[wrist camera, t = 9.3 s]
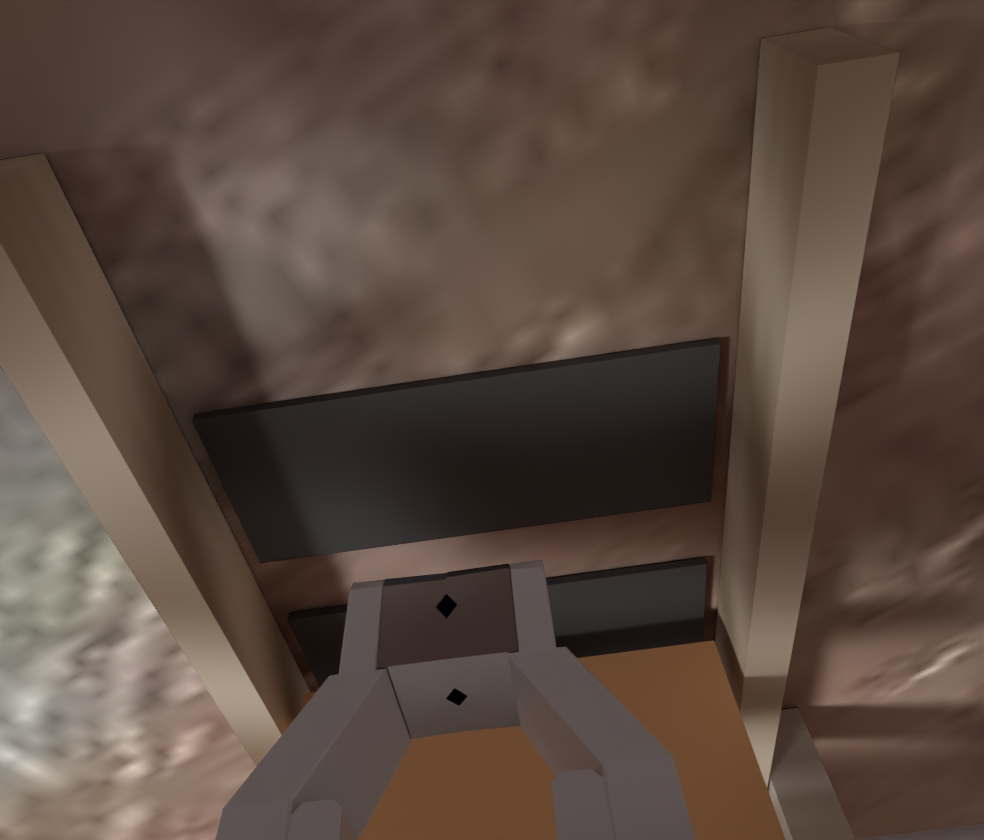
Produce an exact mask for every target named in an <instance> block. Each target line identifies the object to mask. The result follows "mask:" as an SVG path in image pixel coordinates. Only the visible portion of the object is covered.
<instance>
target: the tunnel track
mask: <svg viewBox="0 0 984 840" xmlns="http://www.w3.org/2000/svg"><path fill="white" fill-rule="evenodd" d="M899 56H900V52H897V51H895V50H892V49H889V48H886V47H884V46H881V45H878V44H875V43H872V42H870V41H867V40H864V39H861V38H858V37H856V36H853V35H850V34H847V33H845V32H842V31H839V30H836V29H833V28H831V27H829V28H823V29H817V30H810V31H804V32H798V33H792V34H786V35H779V36H773V37H767V38H761V45H760V58H759V72H758V85H757V98H756V111H755V124H754V137H753V150H752V163H751V177H750V190H749V203H748V216H747V229H746V242H745V255H744V268H743V282H742V295H741V308H740V321H739V334H738V347H737V360H736V373H735V387H734V400H733V413H732V426H731V439H730V452H729V465H728V478H727V492H726V505H725V518H724V531H723V544H722V557H721V570H720V583H719V597H718V610H717V623H716V636H715V645H716V648H717V650H718V653H719V656H720V659H721V662H722V664H723V667H724V670H725V673H726V675H727V678H728V681H729V684H730V687H731V689H732V692H733V695H734V698H735V700H736V703H737V706H738V709H739V712H740V714H741V717H742V720H743V723H744V726H745V728H746V731H747V734H748V737H749V739H750V742H751V745H752V748H753V751H754V753H755V756H756V759H757V762H758V764H759V767H760V770H761V773H762V776H763V778H764V781H765V784H766V787H767V789H768V792H769V795H770V798H771V801H772V803H773V806H774V809H775V812H776V814H777V817H778V820H779V823H780V826H781V828H782V831H783V834H784V837H785V839H786V840H845V839H854V838H855V837H854V835H853V832H852V830H851V828H850V825H849V823H848V821H847V818H846V816H845V814H844V812H843V809H842V807H841V805H840V802H839V800H838V798H837V795H836V793H835V791H834V789H833V786H832V784H831V782H830V779H829V777H828V775H827V772H826V770H825V768H824V765H823V763H822V761H821V759H820V756H819V754H818V752H817V749H816V747H815V745H814V742H813V740H812V738H811V735H810V733H809V731H808V729H807V726H806V724H805V722H804V719H803V717H802V715H801V712H800V710H799V708H792V709H784V710H781V709H782V703H783V698H784V692H785V687H786V681H787V676H788V670H789V665H790V659H791V654H792V648H793V642H794V637H795V631H796V626H797V620H798V615H799V609H800V604H801V598H802V593H803V587H804V582H805V576H806V571H807V565H808V560H809V554H810V548H811V543H812V537H813V532H814V526H815V521H816V515H817V510H818V504H819V499H820V493H821V488H822V482H823V477H824V471H825V466H826V460H827V454H828V449H829V443H830V438H831V432H832V427H833V421H834V416H835V410H836V405H837V399H838V394H839V388H840V383H841V377H842V372H843V366H844V360H845V355H846V349H847V344H848V338H849V333H850V327H851V322H852V316H853V311H854V305H855V300H856V294H857V289H858V283H859V277H860V272H861V266H862V261H863V255H864V250H865V244H866V239H867V233H868V228H869V222H870V217H871V211H872V206H873V200H874V195H875V189H876V183H877V178H878V172H879V167H880V161H881V156H882V150H883V145H884V139H885V134H886V128H887V123H888V117H889V112H890V106H891V101H892V95H893V89H894V84H895V78H896V73H897V67H898V62H899ZM719 356H720V342H719V341H718V339H717V338H715V339H709V340H702V341H695V342H688V343H681V344H674V345H667V346H660V347H653V348H647V349H640V350H633V351H626V352H619V353H612V354H605V355H598V356H591V357H585V358H578V359H571V360H564V361H557V362H550V363H543V364H536V365H529V366H523V367H516V368H509V369H502V370H495V371H488V372H481V373H474V374H468V375H461V376H454V377H447V378H440V379H433V380H426V381H419V382H412V383H406V384H399V385H392V386H385V387H378V388H371V389H364V390H357V391H350V392H344V393H337V394H330V395H323V396H316V397H309V398H302V399H295V400H288V401H282V402H275V403H268V404H261V405H254V406H247V407H240V408H233V409H226V410H220V411H213V412H206V413H199V414H195V415H194V417H193V419H192V421H193V423H194V426H195V428H196V430H197V432H198V434H199V436H200V438H201V440H202V442H203V444H204V446H205V448H206V451H207V453H208V455H209V457H210V459H211V461H212V463H213V465H214V467H215V469H216V471H217V474H218V476H219V478H220V480H221V482H222V484H223V486H224V488H225V490H226V492H227V494H228V496H229V499H230V501H231V503H232V505H233V507H234V509H235V511H236V513H237V515H238V517H239V519H240V522H241V524H242V526H243V528H244V530H245V532H246V534H247V536H248V538H249V540H250V542H251V544H252V547H253V549H254V551H255V553H256V555H257V557H258V559H259V561H260V563H266V562H273V561H281V560H288V559H295V558H303V557H310V556H317V555H325V554H332V553H339V552H346V551H354V550H361V549H368V548H376V547H383V546H390V545H398V544H405V543H412V542H419V541H427V540H434V539H441V538H449V537H456V536H463V535H471V534H478V533H485V532H493V531H500V530H507V529H514V528H522V527H529V526H536V525H544V524H551V523H558V522H566V521H573V520H580V519H587V518H595V517H602V516H609V515H617V514H624V513H631V512H639V511H646V510H653V509H661V508H668V507H675V506H682V505H690V504H697V503H704V502H711V491H712V474H713V457H714V440H715V423H716V407H717V390H718V373H719ZM0 367H1V368H2V370H3V371H4V373H5V374H6V376H7V378H8V379H9V381H10V382H11V384H12V385H13V387H14V388H15V390H16V392H17V393H18V395H19V396H20V398H21V399H22V401H23V403H24V404H25V406H26V407H27V409H28V410H29V412H30V413H31V415H32V417H33V418H34V420H35V421H36V423H37V424H38V426H39V428H40V429H41V431H42V432H43V434H44V435H45V437H46V438H47V440H48V442H49V443H50V445H51V446H52V448H53V449H54V451H55V452H56V454H57V456H58V457H59V459H60V460H61V462H62V463H63V465H64V467H65V468H66V470H67V471H68V473H69V474H70V476H71V477H72V479H73V481H74V482H75V484H76V485H77V487H78V488H79V490H80V491H81V493H82V495H83V496H84V498H85V499H86V501H87V502H88V504H89V506H90V507H91V509H92V510H93V512H94V513H95V515H96V516H97V518H98V520H99V521H100V523H101V524H102V526H103V527H104V529H105V531H106V532H107V534H108V535H109V537H110V538H111V540H112V541H113V543H114V545H115V546H116V548H117V549H118V551H119V552H120V554H121V555H122V557H123V559H124V560H125V562H126V563H127V565H128V566H129V568H130V570H131V571H132V573H133V574H134V576H135V577H136V579H137V580H138V582H139V584H140V585H141V587H142V588H143V590H144V591H145V593H146V595H147V596H148V598H149V599H150V601H151V602H152V604H153V605H154V607H155V609H156V610H157V612H158V613H159V615H160V616H161V618H162V619H163V621H164V623H165V624H166V626H167V627H168V629H169V630H170V632H171V634H172V635H173V637H174V638H175V640H176V641H177V643H178V644H179V646H180V648H181V649H182V651H183V652H184V654H185V655H186V657H187V658H188V660H189V662H190V663H191V665H192V666H193V668H194V669H195V671H196V673H197V674H198V676H199V677H200V679H201V680H202V682H203V683H204V685H205V687H206V688H207V690H208V691H209V693H210V694H211V696H212V698H213V699H214V701H215V702H216V704H217V705H218V707H219V708H220V710H221V712H222V713H223V715H224V716H225V718H226V719H227V721H228V722H229V724H230V726H231V727H232V729H233V730H234V732H235V733H236V735H237V737H238V738H239V740H240V741H241V743H242V744H243V746H244V747H245V749H246V751H247V752H248V754H249V755H250V757H251V758H252V760H253V762H254V763H255V765H256V766H258V764H259V763H260V762H261V761H262V759H263V758H264V757H265V756H266V754H267V753H268V752H269V751H270V749H271V748H272V747H273V746H274V744H275V743H276V742H277V741H278V739H279V738H280V737H281V736H282V734H283V733H284V732H285V730H286V729H287V728H288V727H289V725H290V724H291V723H292V722H293V720H294V719H295V718H296V717H297V715H298V714H299V713H300V712H301V710H302V705H303V700H304V694H305V693H311V691H310V689H309V687H308V685H307V683H306V681H305V679H304V677H303V675H302V673H301V671H300V669H299V667H298V665H297V663H296V661H295V659H294V657H293V655H292V653H291V651H290V649H289V647H288V645H287V643H286V641H285V639H284V637H283V635H282V633H281V631H280V629H279V627H278V625H277V623H276V621H275V619H274V617H273V615H272V613H271V611H270V609H269V607H268V605H267V603H266V601H265V599H264V597H263V595H262V592H261V590H260V588H259V586H258V584H257V582H256V580H255V578H254V576H253V574H252V572H251V570H250V568H249V566H248V564H247V562H246V560H245V558H244V556H243V554H242V552H241V550H240V548H239V546H238V544H237V542H236V540H235V538H234V536H233V534H232V532H231V530H230V528H229V526H228V524H227V522H226V520H225V518H224V516H223V514H222V512H221V510H220V508H219V506H218V504H217V502H216V500H215V498H214V496H213V494H212V492H211V490H210V488H209V485H208V483H207V481H206V479H205V477H204V475H203V473H202V471H201V469H200V467H199V465H198V463H197V461H196V459H195V457H194V455H193V453H192V451H191V449H190V447H189V445H188V443H187V441H186V439H185V437H184V435H183V433H182V431H181V429H180V427H179V425H178V423H177V421H176V419H175V417H174V415H173V413H172V411H171V409H170V407H169V405H168V403H167V401H166V399H165V397H164V395H163V393H162V391H161V389H160V387H159V385H158V383H157V381H156V379H155V376H154V374H153V372H152V370H151V368H150V366H149V364H148V362H147V360H146V358H145V356H144V354H143V352H142V350H141V348H140V346H139V344H138V342H137V340H136V338H135V336H134V334H133V332H132V330H131V328H130V326H129V324H128V322H127V320H126V318H125V316H124V314H123V312H122V310H121V308H120V306H119V304H118V302H117V300H116V298H115V296H114V294H113V292H112V290H111V288H110V286H109V284H108V282H107V280H106V278H105V276H104V274H103V272H102V269H101V267H100V265H99V263H98V261H97V259H96V257H95V255H94V253H93V251H92V249H91V247H90V245H89V243H88V241H87V239H86V237H85V235H84V233H83V231H82V229H81V227H80V225H79V223H78V221H77V219H76V217H75V215H74V213H73V211H72V209H71V207H70V205H69V203H68V201H67V199H66V197H65V195H64V193H63V191H62V189H61V187H60V185H59V183H58V181H57V179H56V177H55V175H54V173H53V171H52V169H51V167H50V165H49V163H48V160H47V158H46V156H45V154H44V153H42V154H36V155H30V156H24V157H17V158H11V159H5V160H0ZM706 575H707V562H706V560H705V558H698V559H691V560H683V561H676V562H668V563H661V564H653V565H646V566H638V567H631V568H623V569H616V570H609V571H601V572H594V573H586V574H579V575H571V576H564V577H556V578H549V579H546V584H547V590H548V597H549V603H550V610H551V616H552V623H553V629H554V636H555V642H556V647H567V648H568V649H569V650H570V651H571V652H572V653H573V654H574V655H575V656H576V657H577V658H582V657H590V656H598V655H605V654H613V653H621V652H629V651H636V650H644V649H652V648H659V647H667V646H675V645H683V644H690V643H698V642H703V625H704V608H705V592H706ZM346 614H347V606H340V607H333V608H325V609H318V610H310V611H303V612H295V613H289V616H288V622H289V624H290V626H291V628H292V630H293V632H294V634H295V636H296V638H297V640H298V643H299V645H300V647H301V649H302V651H303V653H304V655H305V657H306V659H307V661H308V663H309V666H310V668H311V670H312V672H313V674H314V676H315V678H316V680H317V682H318V684H319V686H320V687H321V685H322V684H323V683H324V682H325V680H326V679H327V678H328V677H329V676H330V675H337V674H339V668H340V660H341V652H342V645H343V637H344V629H345V622H346Z"/></svg>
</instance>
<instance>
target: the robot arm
mask: <svg viewBox="0 0 984 840" xmlns="http://www.w3.org/2000/svg"><path fill="white" fill-rule="evenodd" d="M515 726H521V729H522V731H523V732H524V734H525V735H526V736H527V738H528V739H529V740H530V742H531V743H532V745H533V746H534V747H535V749H536V750H537V751H538V753H539V754H540V756H541V757H542V758H543V760H544V761H545V762H546V764H547V765H548V767H549V768H550V769H551V771H552V772H553V773H554V775H555V776H556V778H555V779H554V780H553V782H552V792H553V801H554V810H555V819H556V828H557V838H558V840H695V836H694V832H693V829H692V825H691V821H690V818H689V814H688V810H687V806H686V803H685V799H684V795H683V791H682V788H681V784H680V780H679V777H678V773H677V769H676V765H675V762H674V758H673V756H672V755H671V754H670V753H669V752H668V751H667V750H666V749H665V748H664V747H663V746H662V745H661V744H660V743H659V742H658V741H657V740H656V738H655V737H654V736H653V735H652V734H651V733H650V732H649V731H648V730H647V729H646V728H645V727H644V726H643V725H642V724H641V723H640V722H639V721H638V720H637V719H636V718H635V717H634V716H633V715H632V714H631V713H630V712H629V711H628V710H627V709H626V708H625V707H624V706H623V705H622V704H621V703H620V702H619V701H618V700H617V698H616V697H615V696H614V695H613V694H612V693H611V692H610V691H609V690H608V689H607V688H606V687H605V686H604V685H603V684H602V683H601V682H600V681H599V680H598V679H597V678H596V677H595V676H594V675H593V674H592V673H591V672H590V671H589V670H588V669H587V668H586V667H585V666H584V665H583V664H582V663H581V662H580V661H579V660H578V658H577V657H576V656H575V655H574V654H573V653H572V652H571V651H570V650H569V649H568V648H567V647H556V642H555V636H554V629H553V623H552V616H551V610H550V603H549V597H548V590H547V584H546V577H545V571H544V564H543V562H542V560H536V561H528V562H520V563H513V564H510V565H509V564H503V565H495V566H488V567H481V568H474V569H466V570H459V571H452V572H448V573H443V574H433V575H423V576H413V577H403V578H393V579H385V580H377V581H368V582H359V583H353V585H352V587H351V590H350V592H349V599H348V606H347V614H346V622H345V629H344V637H343V645H342V652H341V660H340V668H339V674H337V675H330V676H329V677H328V678H327V679H326V680H325V682H324V683H323V684H322V685H321V687H320V688H319V689H318V690H317V692H316V693H315V694H314V695H313V697H312V698H311V699H310V700H309V702H308V703H307V704H306V705H305V707H304V708H303V709H302V710H301V712H300V713H299V714H298V715H297V717H296V718H295V719H294V720H293V722H292V723H291V724H290V725H289V727H288V728H287V729H286V730H285V732H284V733H283V734H282V736H281V737H280V738H279V739H278V741H277V742H276V743H275V744H274V746H273V747H272V748H271V749H270V751H269V752H268V753H267V754H266V756H265V757H264V758H263V759H262V761H261V762H260V763H259V764H258V766H257V767H256V768H255V769H254V771H253V772H252V773H251V774H250V776H249V777H248V778H247V779H246V781H245V782H244V783H243V784H242V786H241V787H240V788H239V789H238V791H237V792H236V793H235V794H234V796H233V797H232V798H231V799H230V801H229V802H228V803H227V805H226V806H225V807H224V808H223V811H222V815H221V820H220V824H219V828H218V832H217V836H216V840H358V839H359V837H360V835H361V833H362V831H363V830H364V828H365V826H366V824H367V822H368V821H369V819H370V817H371V815H372V813H373V812H374V810H375V808H376V806H377V804H378V802H379V801H380V799H381V797H382V795H383V793H384V792H385V790H386V788H387V786H388V784H389V783H390V781H391V779H392V777H393V775H394V773H395V772H396V770H397V768H398V766H399V764H400V763H401V761H402V759H403V757H404V755H405V754H406V752H407V750H408V748H409V746H410V745H411V740H410V739H416V738H422V737H429V736H436V735H443V734H449V733H456V732H463V731H472V730H483V729H493V728H504V727H515ZM845 840H984V823H983V824H975V825H966V826H957V827H949V828H940V829H931V830H923V831H914V832H906V833H897V834H888V835H880V836H871V837H862V838H854V839H845Z"/></svg>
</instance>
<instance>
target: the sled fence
mask: <svg viewBox="0 0 984 840" xmlns="http://www.w3.org/2000/svg"><path fill="white" fill-rule="evenodd" d="M578 660H579V661H580V662H581V663H582V664H583V665H584V666H585V667H586V668H587V669H588V670H589V671H590V672H591V673H592V674H593V675H594V676H595V677H596V678H597V679H598V680H599V681H600V682H601V683H602V684H603V685H604V686H605V687H606V688H607V689H608V690H609V691H610V692H611V693H612V694H613V695H614V696H615V697H616V698H617V700H618V701H619V702H620V703H621V704H622V705H623V706H624V707H625V708H626V709H627V710H628V711H629V712H630V713H631V714H632V715H633V716H634V717H635V718H636V719H637V720H638V721H639V722H640V723H641V724H642V725H643V726H644V727H645V728H646V729H647V730H648V731H649V732H650V733H651V734H652V735H653V736H654V737H655V738H656V740H657V741H658V742H659V743H660V744H661V745H662V746H663V747H664V748H665V749H666V750H667V751H668V752H669V753H670V754H671V755H672V756H673V758H674V762H675V765H676V769H677V773H678V777H679V780H680V784H681V788H682V791H683V795H684V799H685V803H686V806H687V810H688V814H689V818H690V821H691V825H692V829H693V832H694V836H695V840H786V839H785V837H784V834H783V831H782V828H781V826H780V823H779V820H778V817H777V814H776V812H775V809H774V806H773V803H772V801H771V798H770V795H769V792H768V789H767V787H766V784H765V781H764V778H763V776H762V773H761V770H760V767H759V764H758V762H757V759H756V756H755V753H754V751H753V748H752V745H751V742H750V739H749V737H748V734H747V731H746V728H745V726H744V723H743V720H742V717H741V714H740V712H739V709H738V706H737V703H736V700H735V698H734V695H733V692H732V689H731V687H730V684H729V681H728V678H727V675H726V673H725V670H724V667H723V664H722V662H721V659H720V656H719V653H718V650H717V648H716V645H715V642H714V640H713V641H706V642H698V643H690V644H683V645H675V646H667V647H659V648H652V649H644V650H636V651H629V652H621V653H613V654H605V655H598V656H590V657H582V658H578ZM315 693H316V692H313V693H305V694H304V700H303V705H302V709H303V708H304V707H305V705H306V704H307V703H308V702H309V700H310V699H311V698H312V697H313V695H314V694H315ZM410 740H411V745H410V746H409V748H408V750H407V752H406V754H405V755H404V757H403V759H402V761H401V763H400V764H399V766H398V768H397V770H396V772H395V773H394V775H393V777H392V779H391V781H390V783H389V784H388V786H387V788H386V790H385V792H384V793H383V795H382V797H381V799H380V801H379V802H378V804H377V806H376V808H375V810H374V812H373V813H372V815H371V817H370V819H369V821H368V822H367V824H366V826H365V828H364V830H363V831H362V833H361V835H360V837H359V839H358V840H558V838H557V828H556V819H555V810H554V801H553V792H552V782H553V780H554V779H555V778H556V776H555V775H554V773H553V772H552V771H551V769H550V768H549V767H548V765H547V764H546V762H545V761H544V760H543V758H542V757H541V756H540V754H539V753H538V751H537V750H536V749H535V747H534V746H533V745H532V743H531V742H530V740H529V739H528V738H527V736H526V735H525V734H524V732H523V731H522V729H521V726H515V727H504V728H493V729H483V730H472V731H463V732H456V733H449V734H443V735H436V736H429V737H422V738H416V739H410Z"/></svg>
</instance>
